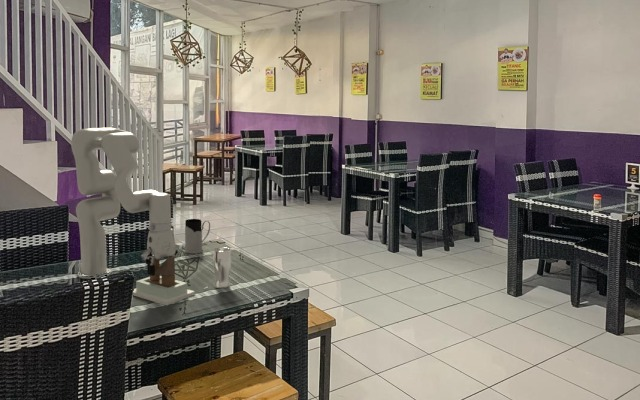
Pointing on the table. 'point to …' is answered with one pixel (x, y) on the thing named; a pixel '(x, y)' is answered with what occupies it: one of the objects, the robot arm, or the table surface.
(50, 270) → the table surface
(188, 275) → the table surface
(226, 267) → the beer glass
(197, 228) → the grey handled cylinder
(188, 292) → the end cap
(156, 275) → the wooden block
